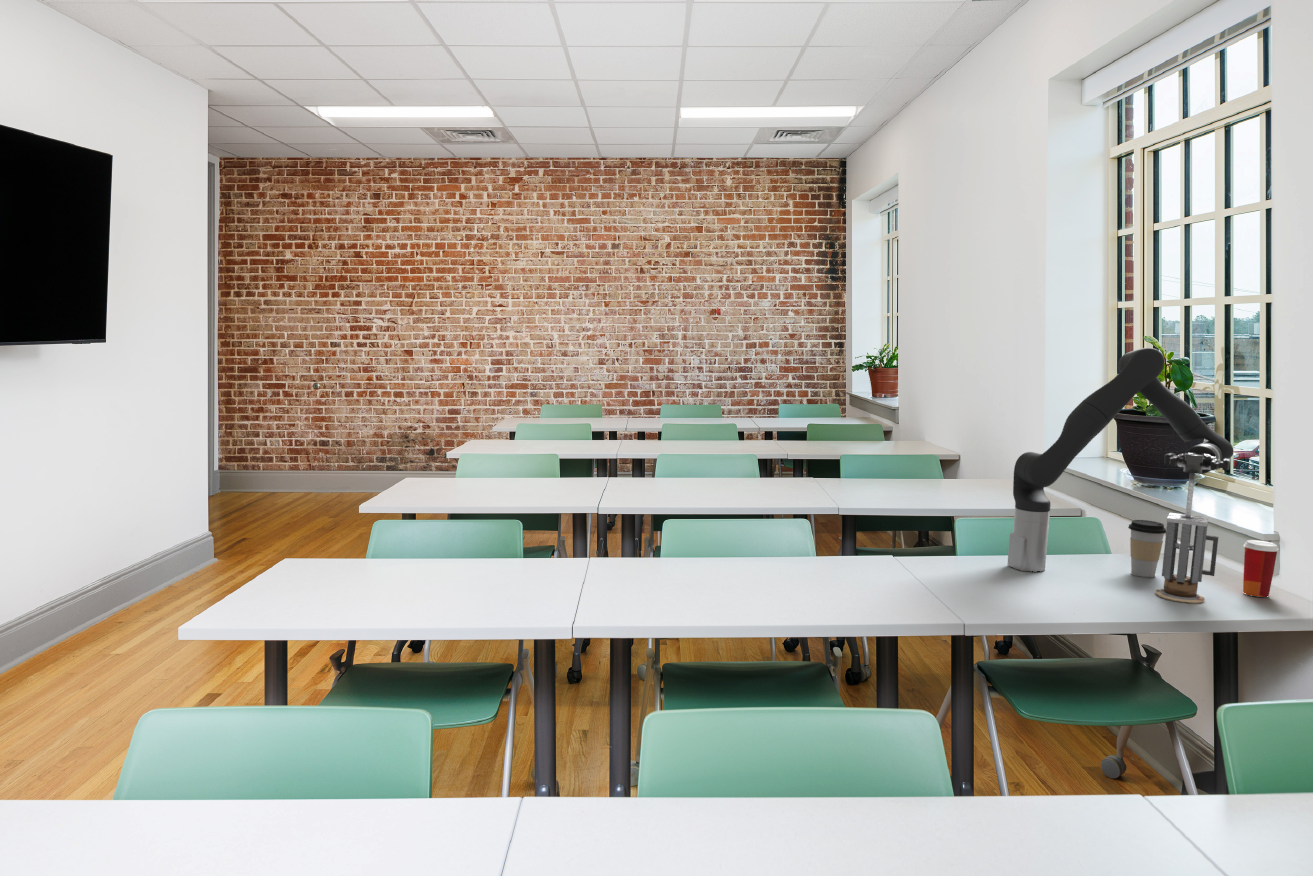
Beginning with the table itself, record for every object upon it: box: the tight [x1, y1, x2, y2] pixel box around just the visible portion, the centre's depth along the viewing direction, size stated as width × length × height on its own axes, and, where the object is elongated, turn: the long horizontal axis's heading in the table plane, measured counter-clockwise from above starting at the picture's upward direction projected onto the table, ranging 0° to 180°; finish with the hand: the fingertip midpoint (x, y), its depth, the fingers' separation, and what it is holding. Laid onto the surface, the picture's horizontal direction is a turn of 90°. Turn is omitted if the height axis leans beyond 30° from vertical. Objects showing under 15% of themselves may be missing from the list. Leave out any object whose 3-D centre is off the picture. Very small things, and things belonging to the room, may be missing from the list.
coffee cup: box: [1128, 519, 1167, 578], centre depth 247 cm, size 9×9×15 cm
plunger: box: [1175, 453, 1204, 552], centre depth 224 cm, size 6×6×24 cm
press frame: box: [1154, 512, 1219, 605], centre depth 225 cm, size 12×11×21 cm
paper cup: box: [1242, 539, 1280, 598], centre depth 230 cm, size 8×8×14 cm
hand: (1192, 464), depth 222 cm, fingers open, 8 cm apart
